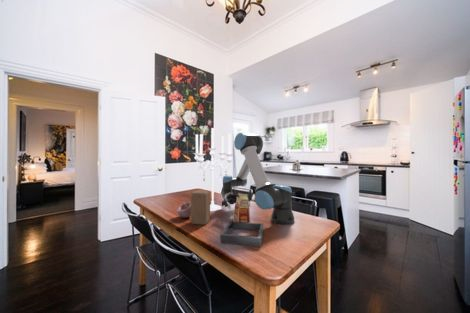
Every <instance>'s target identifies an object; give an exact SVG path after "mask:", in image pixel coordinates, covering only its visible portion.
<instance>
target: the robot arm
mask: <svg viewBox="0 0 470 313" xmlns="http://www.w3.org/2000/svg"><path fill="white" fill-rule="evenodd" d="M233 143H234V144H233V145H234V148H235V149H236V150H238V151H239V152H240V155H242V156H244V158H245V159H244V161H243V163H242V165H241V167H240V169H239V172H238V174H237V176H236V177H233V176H232V175H223V177H222V193H221V197H222V199H223V200H222V201H221V206H222V207H223V206H224V208H226V207H227V208H228V209H231V205H235V204H236V200H237V196H236V195H235V194H234V193H233V188H235V187H237V188H238V187H242V186H246V185H247V184H248V179H247V178H248V175H249V174H251V177H252V179H253V182H254V184H255V190H254V191H255V193H254V198H253V199H254V202H255V205H256V206H257V207H258V208H259V209H261V210H272V209H273V210H272V212H271V215H270V220H271V222H273V223H275V224H279V225H292V224H294V223H295V215H294V212H293V209H292V204H293V203H292V201H293V198H292V194H293V192H292V190H293V189H292V187H290V186H288V185H281V184H280V185H279V184H275V185H273V184H274V183H272V182H270V181H269V179H268V177H267V173H266V172H265V169H264V166H263V165H262V163H261V160H260V157H259V155H260V154H261V152H262V150H263V146H264V141H263V138H262V136H261V135H260V134H258V133H251V132H238V133H236V136H235V137H234V141H233ZM248 202H249V208H251V200H250V199H249V198H248Z"/></svg>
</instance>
